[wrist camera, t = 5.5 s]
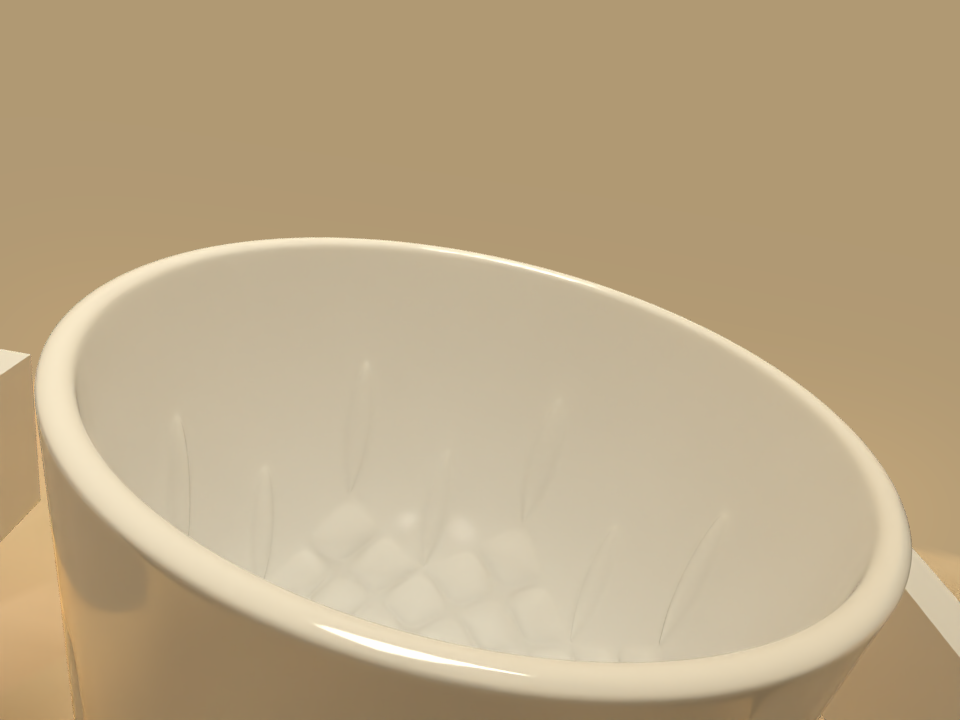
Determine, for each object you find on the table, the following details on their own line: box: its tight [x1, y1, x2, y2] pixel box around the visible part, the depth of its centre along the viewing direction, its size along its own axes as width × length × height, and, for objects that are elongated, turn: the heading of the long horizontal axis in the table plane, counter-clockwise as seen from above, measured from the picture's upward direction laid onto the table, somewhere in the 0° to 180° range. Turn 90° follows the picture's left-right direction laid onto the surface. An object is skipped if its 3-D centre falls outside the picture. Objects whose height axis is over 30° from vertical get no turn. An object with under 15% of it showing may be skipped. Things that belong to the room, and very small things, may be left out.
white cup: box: [34, 237, 912, 720], centre depth 9 cm, size 8×8×10 cm
